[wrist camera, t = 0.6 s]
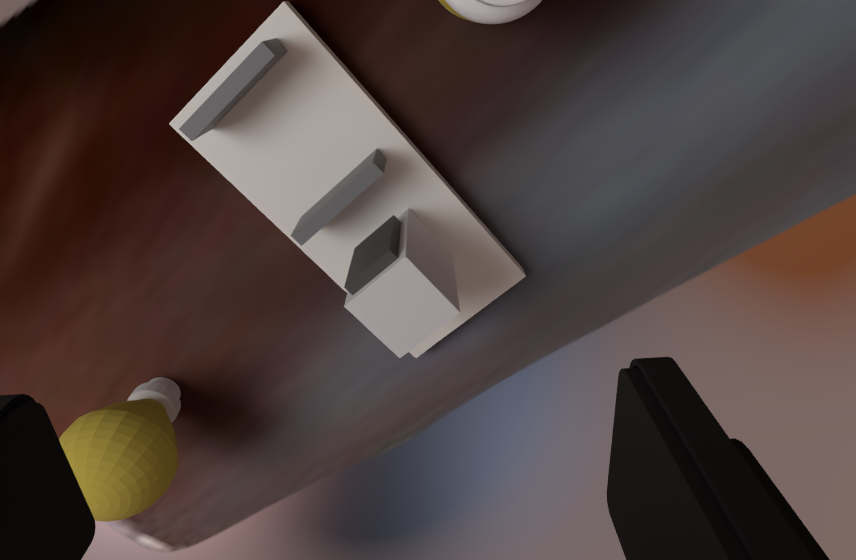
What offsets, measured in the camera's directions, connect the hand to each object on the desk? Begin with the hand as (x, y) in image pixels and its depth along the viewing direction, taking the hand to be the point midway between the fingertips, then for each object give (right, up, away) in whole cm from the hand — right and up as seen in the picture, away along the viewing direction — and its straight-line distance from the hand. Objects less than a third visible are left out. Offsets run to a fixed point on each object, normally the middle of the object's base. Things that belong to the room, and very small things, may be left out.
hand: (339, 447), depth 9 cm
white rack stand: (-2, +8, +24) cm, 26 cm away
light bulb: (-17, -5, +30) cm, 35 cm away
